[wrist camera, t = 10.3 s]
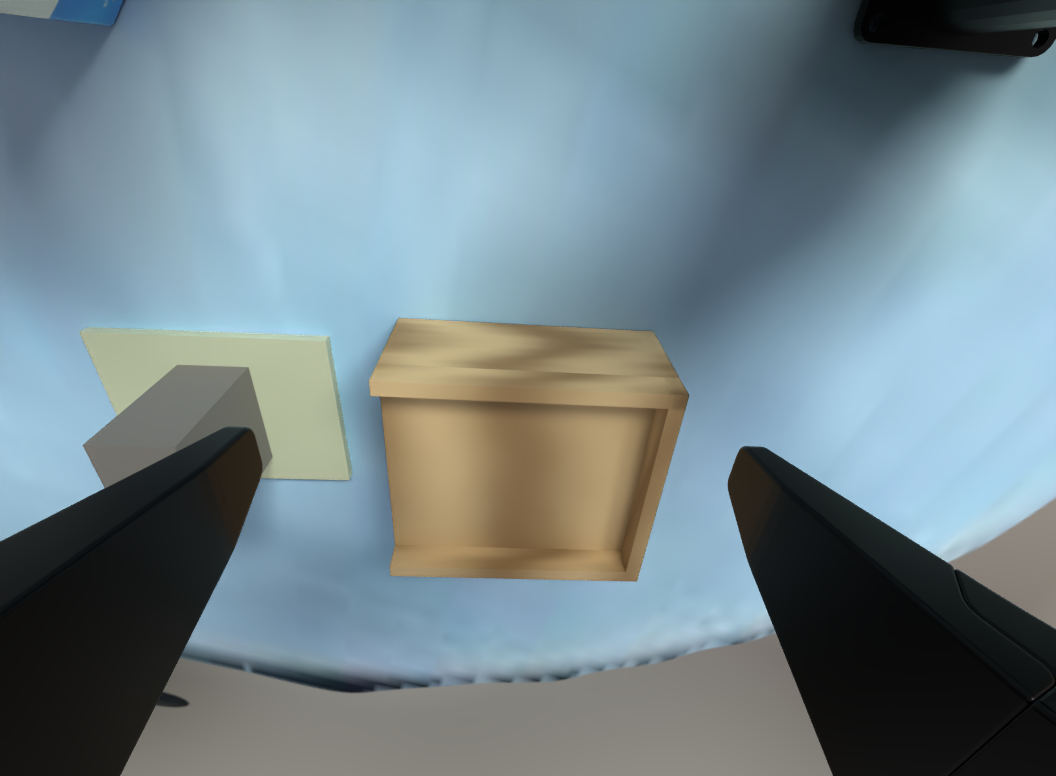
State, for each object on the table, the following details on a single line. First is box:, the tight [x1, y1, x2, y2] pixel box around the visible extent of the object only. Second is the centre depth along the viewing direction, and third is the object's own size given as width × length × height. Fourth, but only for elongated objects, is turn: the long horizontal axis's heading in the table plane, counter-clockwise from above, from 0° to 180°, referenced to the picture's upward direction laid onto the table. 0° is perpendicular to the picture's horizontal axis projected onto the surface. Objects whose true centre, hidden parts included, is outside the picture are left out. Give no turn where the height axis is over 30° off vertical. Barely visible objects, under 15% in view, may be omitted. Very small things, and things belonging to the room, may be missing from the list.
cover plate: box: [79, 327, 352, 488], centre depth 21 cm, size 10×8×6 cm
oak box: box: [369, 318, 689, 581], centre depth 22 cm, size 11×10×5 cm
